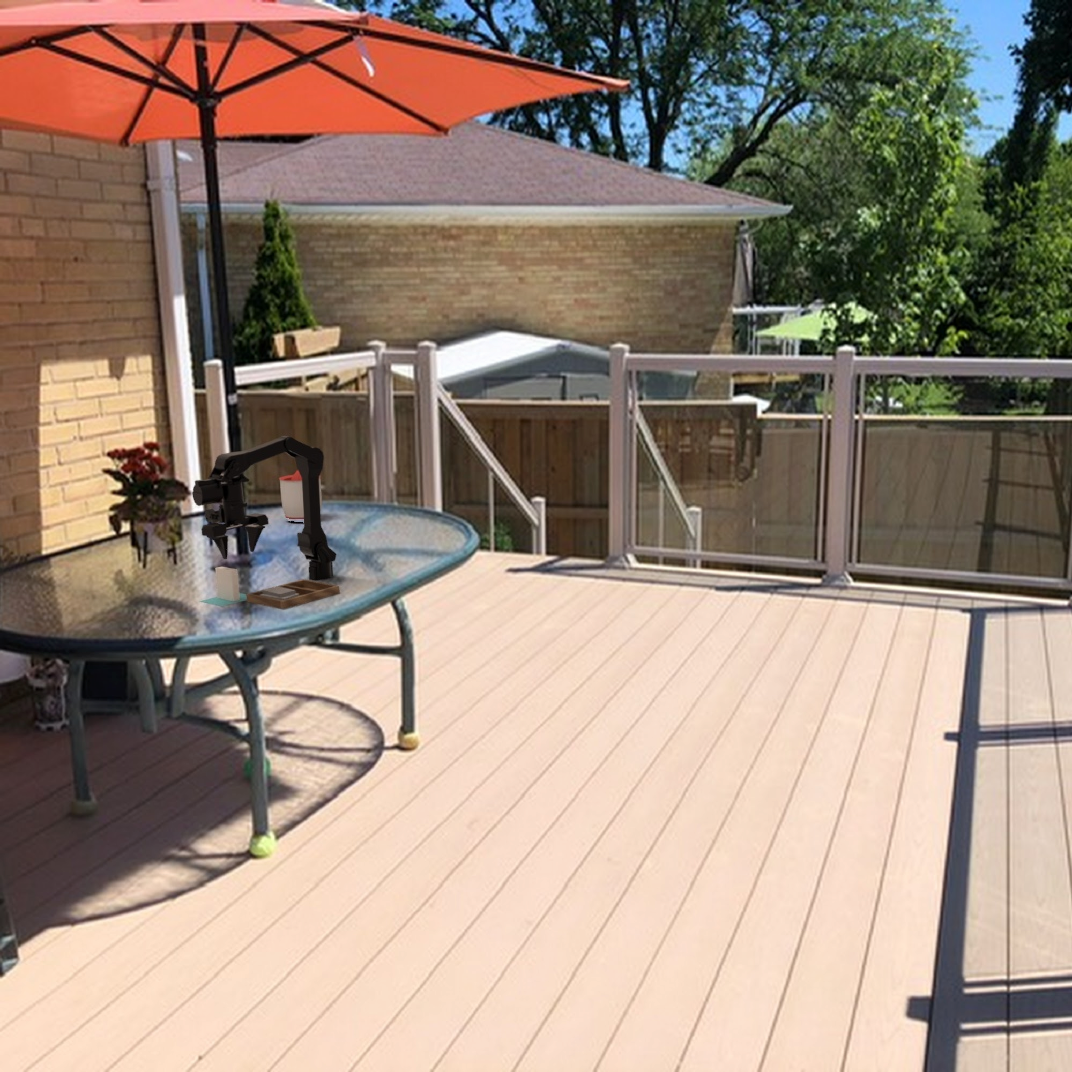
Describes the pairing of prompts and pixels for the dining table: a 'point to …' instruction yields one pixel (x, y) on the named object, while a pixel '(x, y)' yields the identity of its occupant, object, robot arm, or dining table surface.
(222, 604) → the mat
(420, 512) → the dining table surface
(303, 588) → the wooden divided tray
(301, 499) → the citrus juicer
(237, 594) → the beige rectangular block
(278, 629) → the dining table surface
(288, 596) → the offcut stack
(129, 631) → the dining table surface
